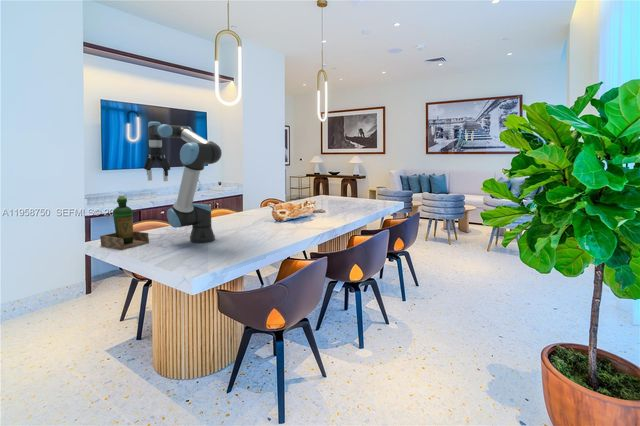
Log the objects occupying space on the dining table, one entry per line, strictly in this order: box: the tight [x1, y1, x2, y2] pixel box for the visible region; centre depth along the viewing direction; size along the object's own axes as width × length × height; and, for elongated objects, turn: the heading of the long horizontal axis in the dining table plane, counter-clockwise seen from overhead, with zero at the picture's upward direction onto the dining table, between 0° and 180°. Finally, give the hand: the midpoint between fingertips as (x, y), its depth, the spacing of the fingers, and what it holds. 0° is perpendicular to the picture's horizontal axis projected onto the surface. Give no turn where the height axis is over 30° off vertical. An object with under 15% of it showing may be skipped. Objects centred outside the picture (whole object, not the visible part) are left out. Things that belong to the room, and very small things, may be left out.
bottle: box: [112, 195, 134, 244], centre depth 215 cm, size 11×11×28 cm
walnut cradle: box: [99, 230, 150, 251], centre depth 217 cm, size 18×18×6 cm
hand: (157, 180), depth 233 cm, fingers open, 13 cm apart
